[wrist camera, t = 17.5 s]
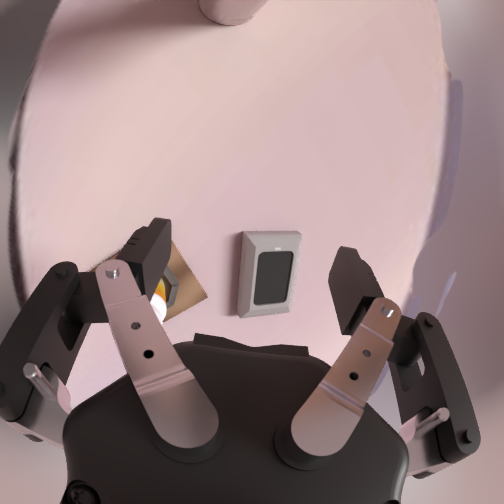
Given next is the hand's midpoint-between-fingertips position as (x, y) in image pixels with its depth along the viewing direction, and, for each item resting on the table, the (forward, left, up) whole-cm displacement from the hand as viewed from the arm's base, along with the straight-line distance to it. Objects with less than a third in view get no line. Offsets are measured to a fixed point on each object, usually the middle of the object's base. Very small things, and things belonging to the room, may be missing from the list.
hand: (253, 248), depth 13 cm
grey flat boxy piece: (+20, +4, -29) cm, 36 cm away
